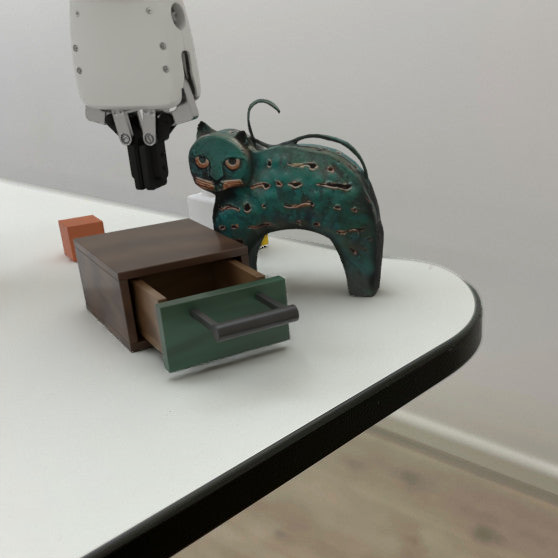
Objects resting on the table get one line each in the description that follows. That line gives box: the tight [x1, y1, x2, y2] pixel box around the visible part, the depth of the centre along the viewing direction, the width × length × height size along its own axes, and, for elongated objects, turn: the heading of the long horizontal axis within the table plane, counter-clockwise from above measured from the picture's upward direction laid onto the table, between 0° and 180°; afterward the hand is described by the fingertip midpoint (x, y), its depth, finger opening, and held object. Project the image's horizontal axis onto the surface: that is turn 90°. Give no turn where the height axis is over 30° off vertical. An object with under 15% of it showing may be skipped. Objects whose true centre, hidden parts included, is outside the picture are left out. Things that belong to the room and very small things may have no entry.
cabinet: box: [73, 217, 250, 353], centre depth 77 cm, size 15×13×8 cm
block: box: [57, 214, 106, 263], centre depth 99 cm, size 4×4×4 cm
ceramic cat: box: [187, 98, 385, 298], centre depth 80 cm, size 20×6×20 cm, turn 75°
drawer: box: [128, 258, 300, 374], centre depth 68 cm, size 20×11×6 cm, turn 34°
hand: (152, 186), depth 72 cm, fingers closed
